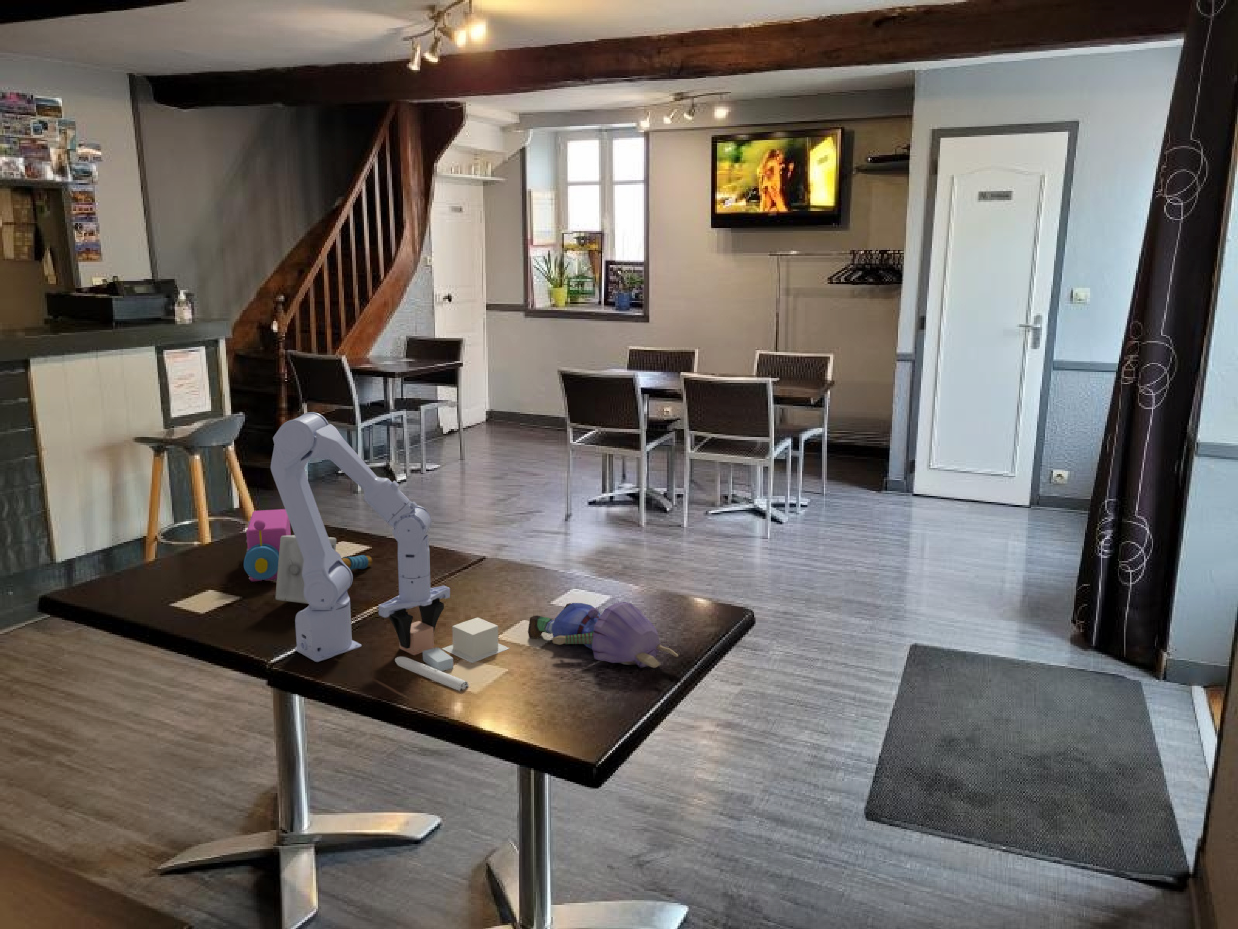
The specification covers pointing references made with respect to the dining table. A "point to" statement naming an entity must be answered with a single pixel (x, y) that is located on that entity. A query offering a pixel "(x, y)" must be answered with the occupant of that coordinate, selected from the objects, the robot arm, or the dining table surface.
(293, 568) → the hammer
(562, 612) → the toy
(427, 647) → the top block
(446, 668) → the brick
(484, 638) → the base block
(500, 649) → the plate
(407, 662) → the marker
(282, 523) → the toy
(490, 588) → the dining table surface
